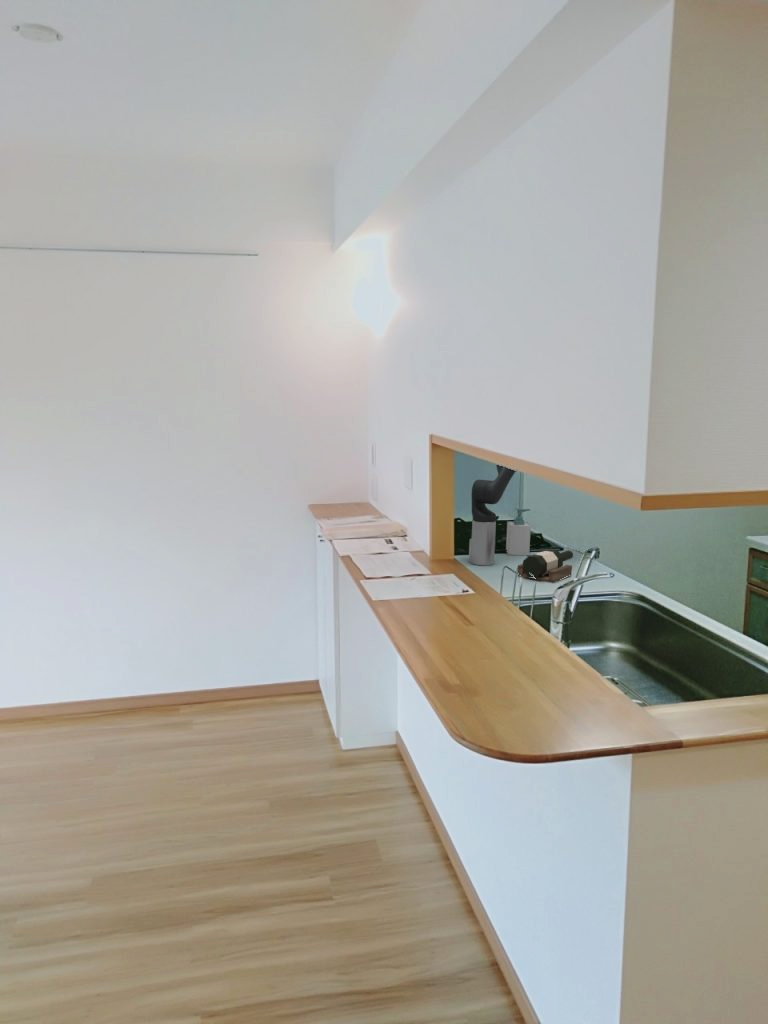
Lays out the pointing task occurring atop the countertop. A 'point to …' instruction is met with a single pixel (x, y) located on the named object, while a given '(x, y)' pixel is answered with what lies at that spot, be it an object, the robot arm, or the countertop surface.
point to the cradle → (550, 573)
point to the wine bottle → (545, 562)
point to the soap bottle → (518, 535)
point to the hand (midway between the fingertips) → (556, 477)
